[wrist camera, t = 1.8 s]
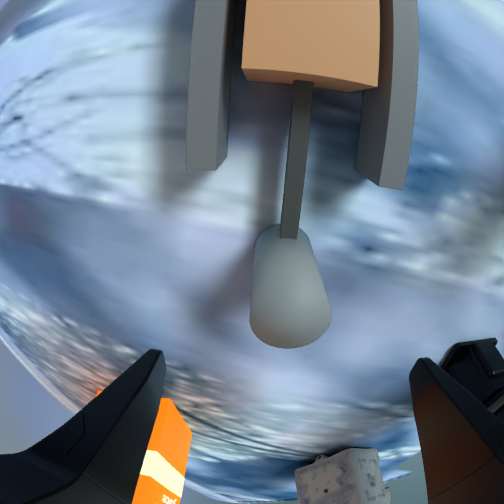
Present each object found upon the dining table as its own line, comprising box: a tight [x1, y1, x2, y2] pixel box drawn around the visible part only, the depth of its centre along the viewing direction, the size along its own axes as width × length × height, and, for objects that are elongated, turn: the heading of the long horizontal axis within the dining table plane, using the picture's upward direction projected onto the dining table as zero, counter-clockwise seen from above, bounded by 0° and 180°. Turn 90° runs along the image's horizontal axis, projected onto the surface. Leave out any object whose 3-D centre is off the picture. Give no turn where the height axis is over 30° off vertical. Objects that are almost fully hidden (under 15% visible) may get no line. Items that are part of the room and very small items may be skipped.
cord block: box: [242, 0, 380, 348], centre depth 11 cm, size 17×5×6 cm, turn 176°
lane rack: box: [186, 0, 419, 190], centre depth 10 cm, size 11×9×4 cm
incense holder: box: [294, 448, 391, 504], centre depth 26 cm, size 10×8×10 cm
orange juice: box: [96, 390, 192, 504], centre depth 17 cm, size 8×9×20 cm
